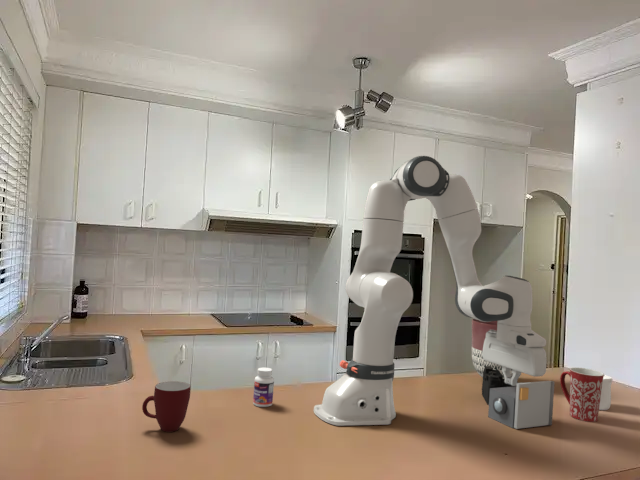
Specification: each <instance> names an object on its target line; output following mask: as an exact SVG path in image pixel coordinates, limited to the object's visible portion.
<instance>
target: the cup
mask: <svg viewBox="0 0 640 480" xmlns="http://www.w3.org/2000/svg"><path fill="white" fill-rule="evenodd" d="M612 383H613V377H611V376H609V375H606V374H604V377H603V383H602V390H601V398H600V405H599V411H607V410H609V409H610V407H611V405H612Z"/></svg>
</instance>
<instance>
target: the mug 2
mask: <svg viewBox="0 0 640 480" xmlns="http://www.w3.org/2000/svg"><path fill="white" fill-rule="evenodd" d="M566 375H568V376H569V379H570V381H569V383H570V384H569V390H568V389H567V386H566ZM604 375H605V373H603V372H602V371H598V370H596V369H592V368H591V369H590V368H585V367H570V368H569V371H566V370H565V371H563V372H562V373H561V375H560V378H559V383H560V387H561V390H562V392H563V395H564V397H565V399H566V401H567V402H568V405H569V416H570V417H572V418H574V419H577V420H579V421H582V422H590V423H591V422H598V420H599V412H600V410H599V405H600V398H601V390H602V383H603V377H604Z"/></svg>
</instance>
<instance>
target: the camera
mask: <svg viewBox="0 0 640 480" xmlns="http://www.w3.org/2000/svg"><path fill="white" fill-rule="evenodd" d="M517 383H519V382H518V381H517ZM481 385H482V386H481V395H482V397H483V400H484V401H485V403H486V405H487V406H489V395H490V388H501V387H514V386H512V385H509V384H506V383H505V379H503V376H502V374H501V373H500V371H499V370H498V369H496V370H493V368H492V367H491V366H486V367H485V368H484V371H483V378H482V383H481ZM516 386H517V385H516Z"/></svg>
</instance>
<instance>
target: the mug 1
mask: <svg viewBox="0 0 640 480" xmlns="http://www.w3.org/2000/svg"><path fill="white" fill-rule="evenodd" d="M191 387H192V386H191V384H189V383H187V382H185V381H177V380H175V381H173V380H172V381H171V380H170V381H164V382H163V381H162V382H159V383H157V384H155V386H154V393H153V395H149V396H147V397H146V398H145V399H144V401H143V402H142V407H141V409H142V412H143V414H144V415H145V416H146V417H148V418H151V419H156V422H157V424H158V425H159V427H160V430H161V431H163V432H167V433H168V432H169V433H170V432H171V433H173V432H176V431H179V429H180V428H181V426H182V424H183V423H184V420H185V418H186V415H187V412H188V411H187V410H188V407H189V402H190V399H191V398H190V397H191ZM149 402H153V403H154V409H155V410H154V411H155V414H153V413H150V412H149V411H148V403H149Z"/></svg>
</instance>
